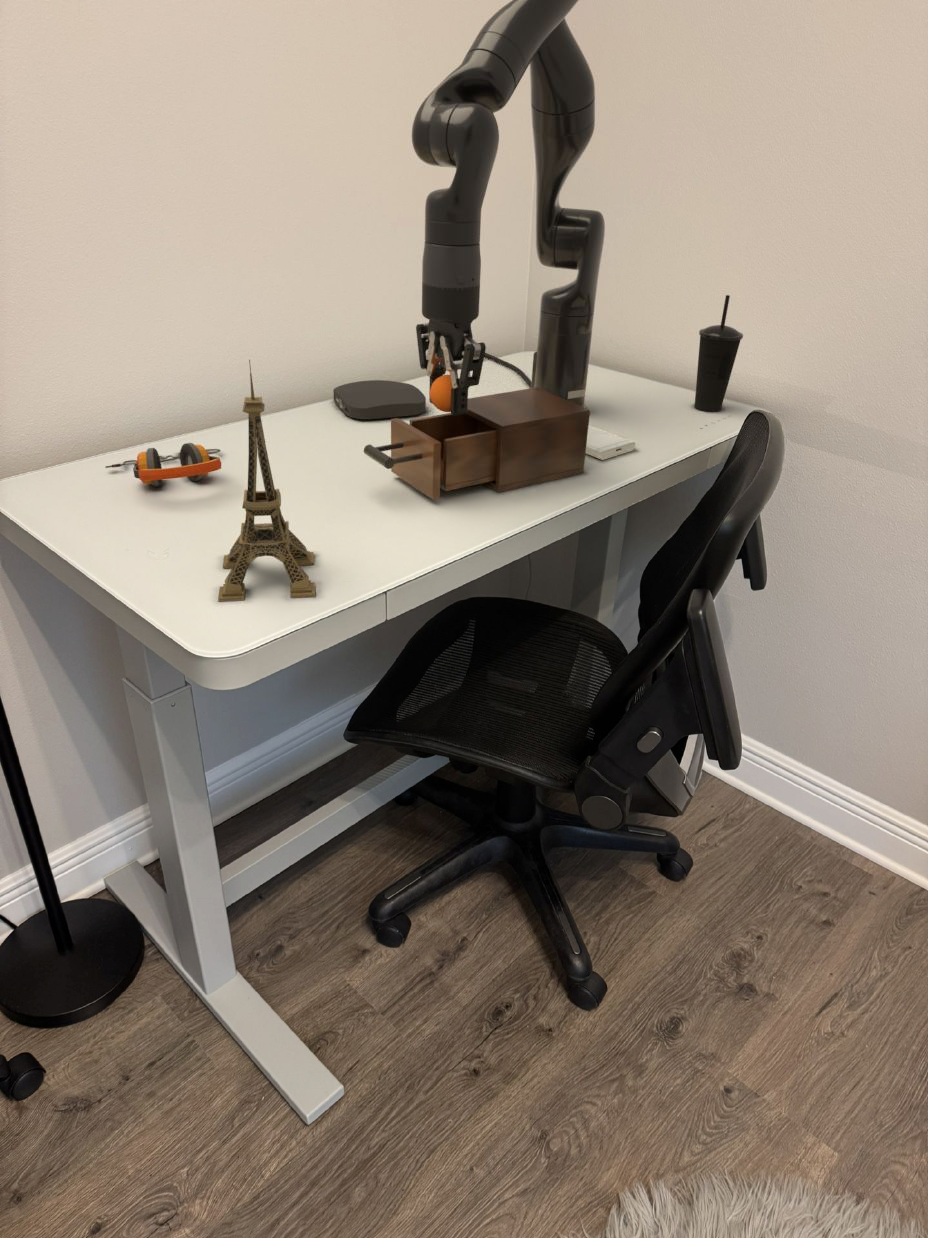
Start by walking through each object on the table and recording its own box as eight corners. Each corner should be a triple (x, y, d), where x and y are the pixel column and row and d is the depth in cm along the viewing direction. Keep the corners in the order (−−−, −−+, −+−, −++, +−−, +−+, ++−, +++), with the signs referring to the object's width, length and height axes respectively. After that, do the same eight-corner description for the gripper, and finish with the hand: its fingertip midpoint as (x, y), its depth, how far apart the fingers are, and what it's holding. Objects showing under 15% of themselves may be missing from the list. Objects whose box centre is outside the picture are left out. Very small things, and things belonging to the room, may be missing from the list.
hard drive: (545, 429, 147) (602, 450, 139) (579, 420, 152) (636, 440, 144) (544, 439, 148) (601, 460, 140) (578, 429, 153) (634, 450, 145)
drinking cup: (734, 406, 167) (756, 295, 157) (721, 416, 161) (742, 301, 151) (695, 399, 170) (713, 289, 160) (680, 408, 165) (699, 295, 155)
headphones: (213, 430, 138) (245, 442, 121) (219, 465, 139) (251, 481, 122) (98, 445, 131) (115, 460, 114) (105, 481, 132) (123, 501, 115)
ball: (422, 408, 125) (423, 372, 122) (452, 403, 127) (454, 368, 125) (441, 418, 121) (442, 382, 119) (472, 413, 124) (474, 377, 121)
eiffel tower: (313, 554, 109) (301, 346, 96) (315, 596, 100) (302, 373, 87) (224, 557, 107) (200, 346, 94) (218, 601, 98) (190, 374, 85)
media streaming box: (432, 415, 156) (432, 398, 155) (351, 423, 151) (351, 405, 150) (404, 391, 168) (404, 375, 166) (328, 398, 163) (327, 381, 161)
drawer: (395, 507, 119) (395, 451, 115) (355, 478, 128) (353, 425, 124) (518, 480, 129) (522, 427, 125) (473, 454, 138) (475, 404, 134)
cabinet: (498, 492, 128) (502, 426, 123) (450, 463, 137) (452, 400, 132) (583, 473, 135) (590, 409, 130) (532, 447, 144) (537, 387, 139)
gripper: (507, 287, 112) (499, 419, 121) (446, 268, 122) (443, 391, 131) (457, 291, 108) (452, 427, 117) (398, 272, 119) (398, 398, 127)
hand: (447, 407), depth 124 cm, fingers closed on ball, 5 cm apart
